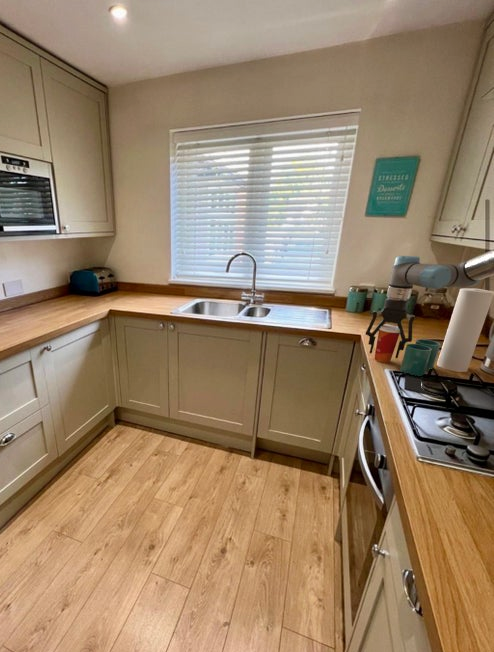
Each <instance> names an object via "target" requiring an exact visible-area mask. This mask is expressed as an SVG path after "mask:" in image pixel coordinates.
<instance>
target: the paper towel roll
mask: <svg viewBox="0 0 494 652" xmlns="http://www.w3.org/2000/svg"><path fill="white" fill-rule="evenodd" d="M493 298H494V291H493V290H487V289H483V288H470V287H461V288H459V292H458V294H457V298H456V301H455V305H454V307H453V311H452V314H451V317H450V320H449V324H448V327H447V329H446V333H445V336H444V340H443V343H442V347H441V349H440V351H439V356H438V359H437V361H436V366H437V367H439V368H441V369H444V370H447V371H451V372H455V373H456V372H457V373H466V372H468V370H469V368H470V364H471V361H472V359H473V356H474V353H475V350H476V346H477V344H478V341H479V338H480V336H481V332H482V330H483V328H484V327H483V326H484V324H485V321H486V318H487V315H488V313H489V309H490V307H491V304H492V301H493Z"/></svg>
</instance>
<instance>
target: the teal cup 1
mask: <svg viewBox="0 0 494 652" xmlns="http://www.w3.org/2000/svg"><path fill="white" fill-rule="evenodd" d="M431 350H432V349H431V348H430V347H427V346H424V345H419V344H415V343H407V344H406V346H405V348H404V354H403V356H402V360H401V365H400V369H399V372H400V371H401V372H400V373H402V372H404V373H409V374H411V375H415V376H416V375H417V376H422V375H424V376H425V373H426V371H425V370H426V367H427V364H428V360H429V357H430V354H431ZM404 373H403V374H404ZM422 377H423V376H422Z"/></svg>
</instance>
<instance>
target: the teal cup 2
mask: <svg viewBox="0 0 494 652" xmlns="http://www.w3.org/2000/svg"><path fill="white" fill-rule="evenodd" d="M414 344H419V345H424V346H427V347H430V348H431V349H432V350H431V354H430V357H429V360H428V364H427V367H426V370H425V372H427V371H428V370H429V368H433V369H434V367H435V363H436V362H437V361H436V360H437V357H438V354H439V352H440V347H441V343H440V342H439V341H436V340H432V339H427V338H425V339H423V338H419V339H418V338H417V339H416V340H415V343H414ZM428 372H429V371H428Z"/></svg>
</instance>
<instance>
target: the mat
mask: <svg viewBox="0 0 494 652" xmlns="http://www.w3.org/2000/svg"><path fill="white" fill-rule="evenodd" d="M421 379H422V378H420V377H414V376H409V375H404V386H403V387H404V388H403V389H404V390H405V391H410V392H415V393H418V394H423V395H427V396H431V395H432V396H433V397H436V396H440V395H437V394H434V393H431V392H428V391H425V390H423V389H422V388H421ZM432 396H431V397H432Z"/></svg>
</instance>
